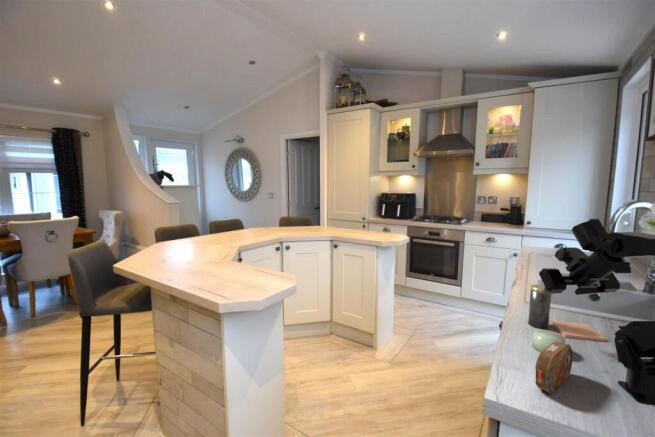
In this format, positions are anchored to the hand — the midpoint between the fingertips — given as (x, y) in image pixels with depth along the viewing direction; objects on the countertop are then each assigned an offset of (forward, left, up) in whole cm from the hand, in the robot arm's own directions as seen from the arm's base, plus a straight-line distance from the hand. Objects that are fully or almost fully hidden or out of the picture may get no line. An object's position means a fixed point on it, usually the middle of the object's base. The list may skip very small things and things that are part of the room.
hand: (560, 293), depth 91 cm
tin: (-25, +11, -14) cm, 30 cm away
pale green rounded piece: (-9, +6, -13) cm, 17 cm away
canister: (+7, +2, -13) cm, 15 cm away
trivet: (+5, -7, -13) cm, 16 cm away
